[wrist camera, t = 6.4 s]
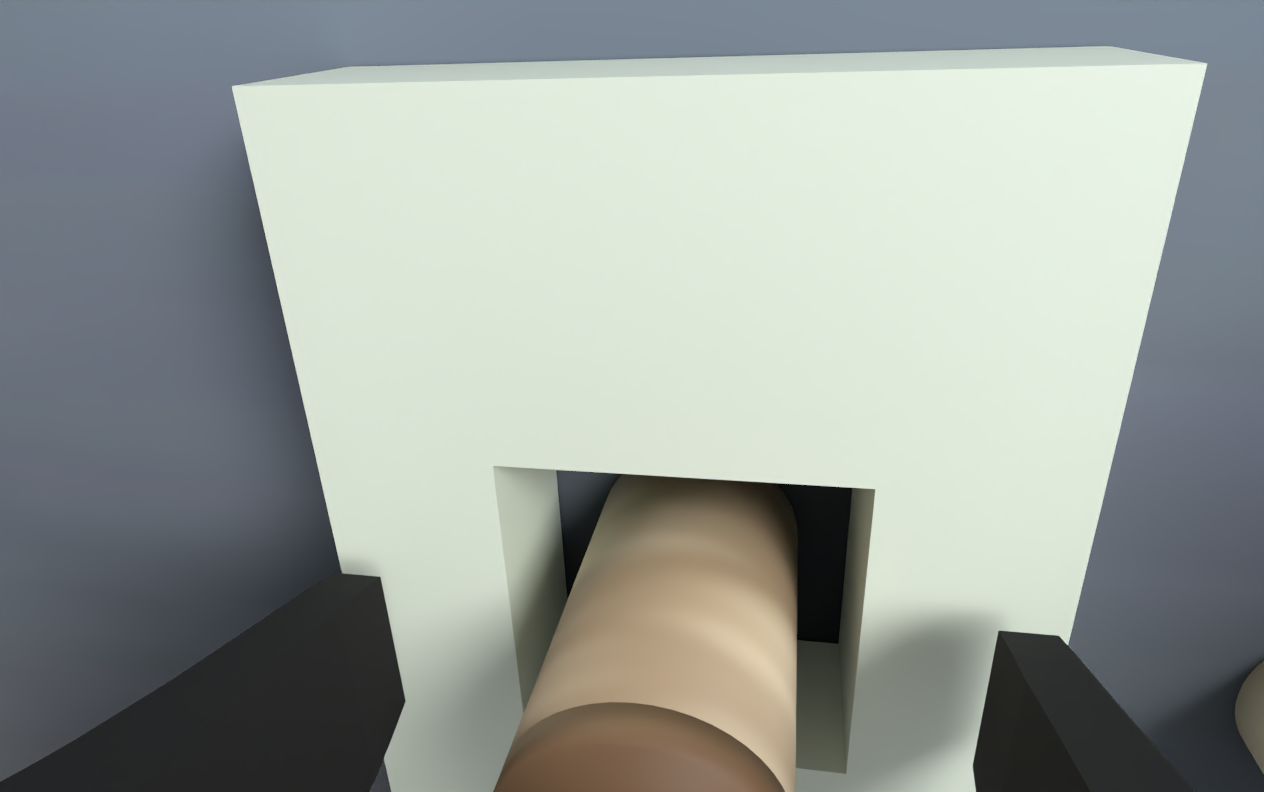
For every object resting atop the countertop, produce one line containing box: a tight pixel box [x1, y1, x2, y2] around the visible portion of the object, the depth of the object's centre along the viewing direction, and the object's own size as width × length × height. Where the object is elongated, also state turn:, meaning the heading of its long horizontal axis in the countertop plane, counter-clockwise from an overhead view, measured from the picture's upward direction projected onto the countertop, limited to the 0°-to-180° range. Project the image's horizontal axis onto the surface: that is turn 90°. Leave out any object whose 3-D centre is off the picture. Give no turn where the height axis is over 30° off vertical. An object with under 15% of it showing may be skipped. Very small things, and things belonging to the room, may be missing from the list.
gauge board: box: [232, 46, 1207, 792], centre depth 12 cm, size 9×13×2 cm
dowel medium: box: [493, 474, 798, 792], centre depth 10 cm, size 3×3×6 cm
